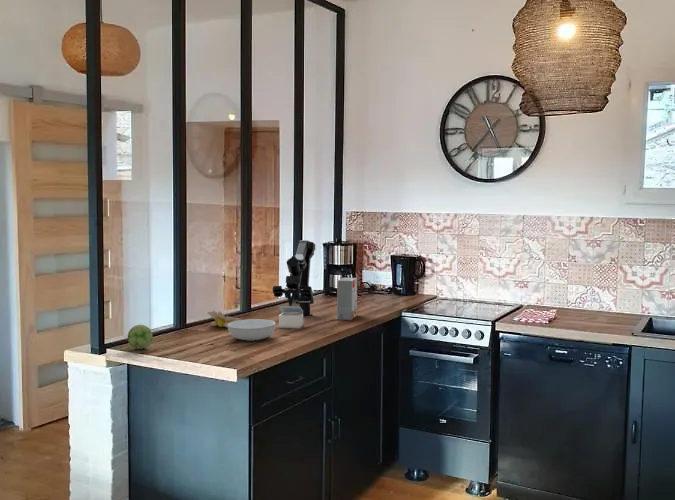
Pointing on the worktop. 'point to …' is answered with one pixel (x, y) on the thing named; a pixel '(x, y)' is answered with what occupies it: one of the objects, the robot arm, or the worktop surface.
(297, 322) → the keepsake box
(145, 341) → the decorative ball
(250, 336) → the serving bowl
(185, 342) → the worktop surface
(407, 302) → the worktop surface
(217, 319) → the decorative flower
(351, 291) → the hard drive box
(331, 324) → the worktop surface
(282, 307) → the lid
